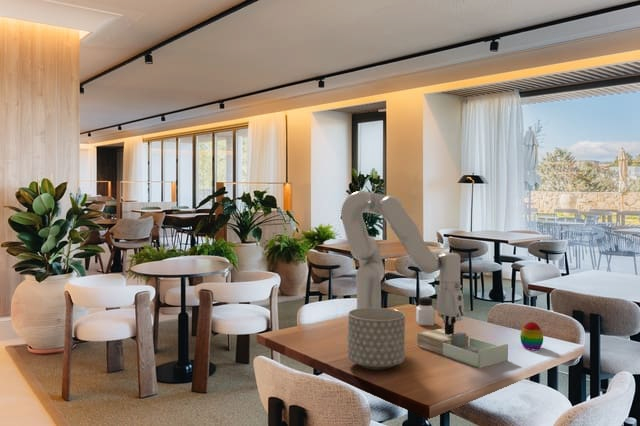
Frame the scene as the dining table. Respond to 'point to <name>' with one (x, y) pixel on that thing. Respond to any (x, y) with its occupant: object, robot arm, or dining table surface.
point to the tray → (485, 355)
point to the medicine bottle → (425, 312)
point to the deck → (435, 340)
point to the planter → (376, 337)
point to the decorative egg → (531, 336)
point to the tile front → (471, 349)
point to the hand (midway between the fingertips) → (449, 333)
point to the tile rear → (459, 339)
